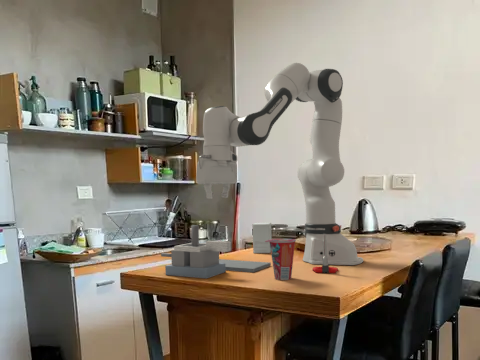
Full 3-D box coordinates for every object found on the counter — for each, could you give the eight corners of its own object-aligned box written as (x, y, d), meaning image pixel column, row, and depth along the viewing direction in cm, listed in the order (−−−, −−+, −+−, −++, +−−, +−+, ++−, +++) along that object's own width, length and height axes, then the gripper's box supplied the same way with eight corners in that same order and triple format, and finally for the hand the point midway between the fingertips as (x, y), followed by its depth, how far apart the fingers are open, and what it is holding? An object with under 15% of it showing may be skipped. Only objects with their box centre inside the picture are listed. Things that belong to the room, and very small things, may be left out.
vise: (225, 272, 160) (224, 224, 161) (206, 278, 150) (205, 227, 150) (172, 267, 171) (171, 223, 171) (151, 273, 160) (150, 226, 160)
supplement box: (272, 251, 210) (271, 222, 210) (269, 253, 202) (269, 223, 203) (256, 250, 211) (255, 222, 212) (252, 253, 204) (252, 223, 204)
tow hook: (312, 269, 165) (312, 273, 155) (312, 232, 165) (311, 233, 156) (337, 270, 163) (338, 273, 154) (336, 232, 164) (338, 233, 155)
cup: (280, 274, 154) (280, 237, 154) (302, 278, 148) (301, 239, 148) (261, 279, 147) (261, 240, 147) (283, 282, 141) (282, 242, 141)
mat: (270, 265, 171) (270, 262, 171) (253, 272, 159) (253, 268, 159) (218, 262, 182) (218, 259, 182) (198, 268, 169) (198, 264, 169)
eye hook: (174, 250, 157) (174, 241, 157) (191, 247, 166) (191, 238, 166) (221, 253, 148) (221, 243, 148) (236, 249, 157) (236, 240, 157)
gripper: (208, 153, 145) (208, 199, 144) (239, 156, 163) (240, 197, 162) (190, 154, 148) (191, 199, 147) (223, 157, 166) (224, 197, 165)
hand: (217, 198), depth 155 cm, fingers open, 8 cm apart
